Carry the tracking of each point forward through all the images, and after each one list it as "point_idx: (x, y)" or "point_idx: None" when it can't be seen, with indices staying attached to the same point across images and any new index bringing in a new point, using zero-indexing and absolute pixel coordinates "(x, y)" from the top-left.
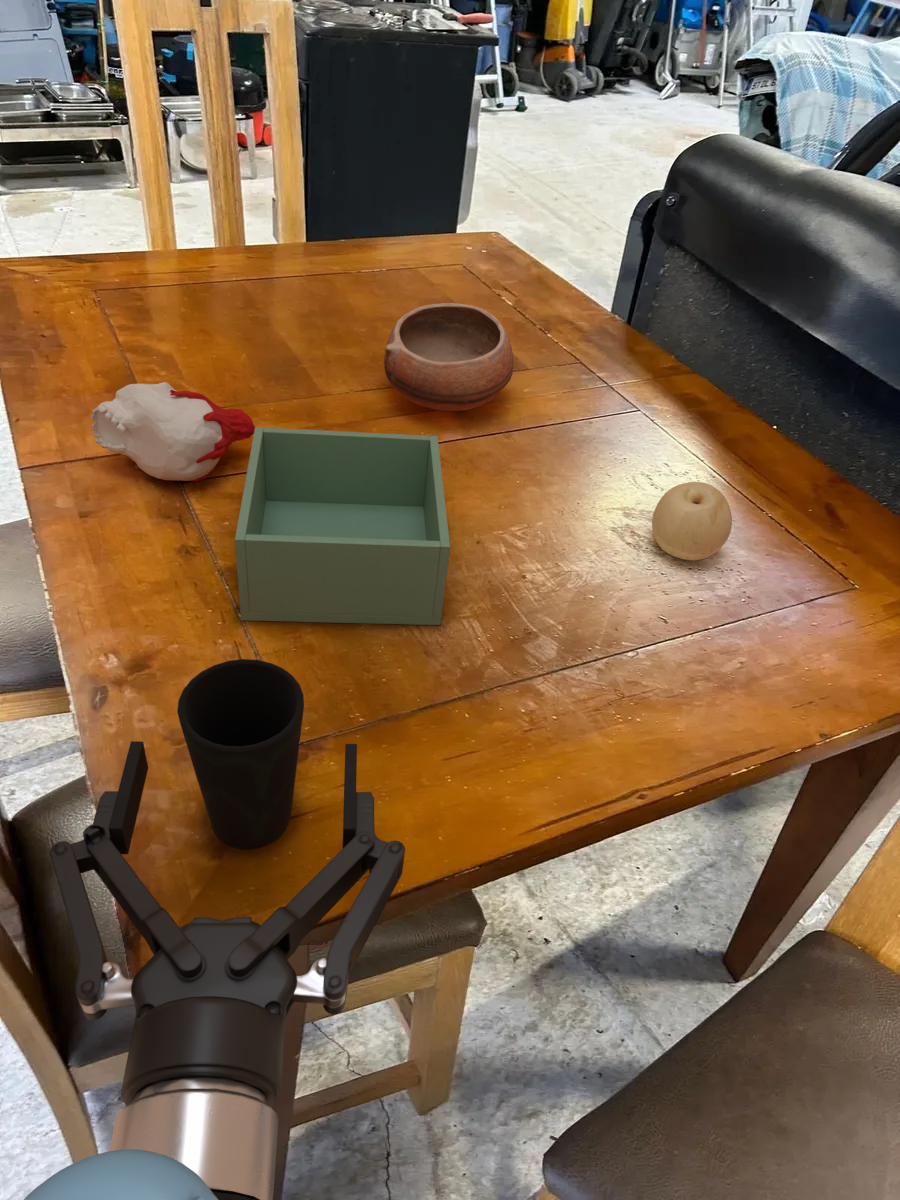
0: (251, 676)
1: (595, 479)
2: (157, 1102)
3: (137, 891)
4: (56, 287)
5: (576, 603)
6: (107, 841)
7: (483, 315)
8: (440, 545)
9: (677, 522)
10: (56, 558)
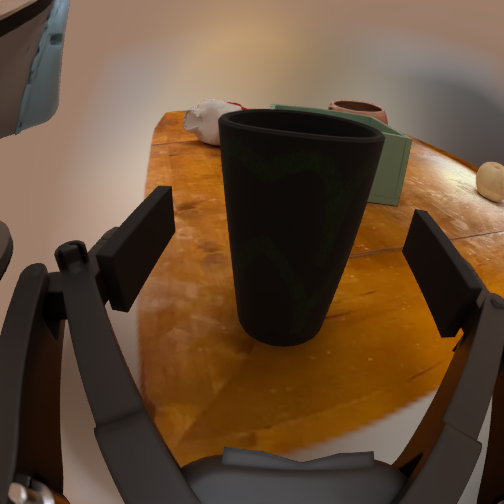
0: (301, 131)
1: (437, 169)
2: None
3: (103, 358)
4: (180, 114)
5: (462, 208)
6: (87, 270)
7: (370, 105)
8: (405, 137)
9: (493, 176)
10: (151, 167)
